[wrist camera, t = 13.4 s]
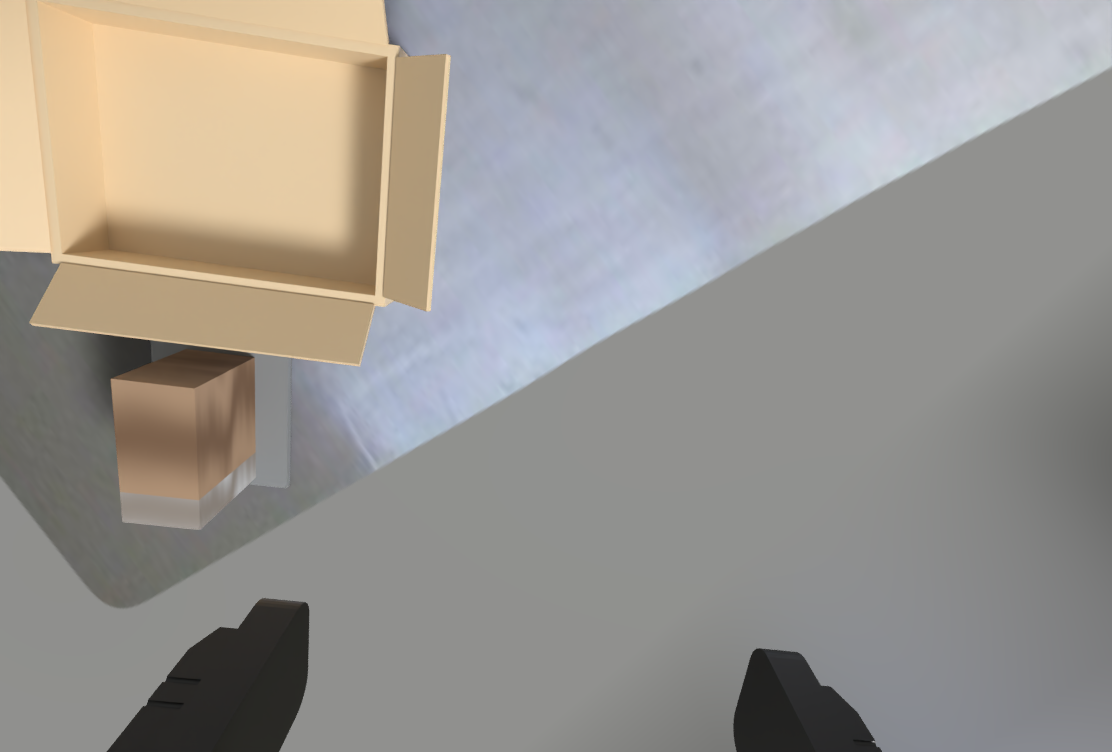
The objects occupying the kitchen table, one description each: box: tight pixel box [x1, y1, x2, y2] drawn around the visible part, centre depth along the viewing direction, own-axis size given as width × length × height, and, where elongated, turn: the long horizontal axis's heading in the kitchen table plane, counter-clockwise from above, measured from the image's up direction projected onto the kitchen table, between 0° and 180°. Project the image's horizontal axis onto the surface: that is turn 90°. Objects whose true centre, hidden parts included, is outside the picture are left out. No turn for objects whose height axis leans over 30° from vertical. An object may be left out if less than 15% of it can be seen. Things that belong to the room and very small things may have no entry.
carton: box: [0, 0, 451, 366], centre depth 32 cm, size 20×26×7 cm
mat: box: [150, 340, 292, 488], centre depth 40 cm, size 10×9×1 cm
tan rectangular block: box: [111, 349, 256, 530], centre depth 36 cm, size 9×4×7 cm, turn 172°
